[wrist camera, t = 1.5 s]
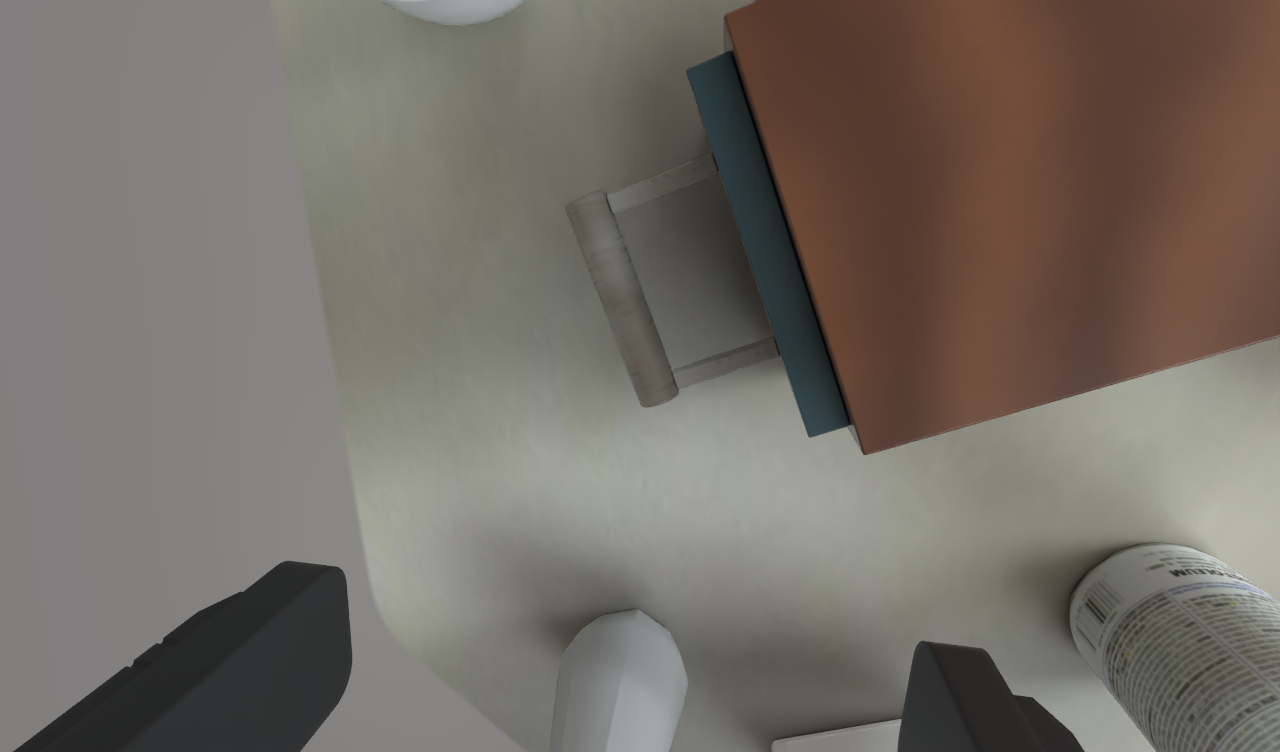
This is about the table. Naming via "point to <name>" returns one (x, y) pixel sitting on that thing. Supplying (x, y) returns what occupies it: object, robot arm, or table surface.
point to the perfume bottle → (845, 739)
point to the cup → (454, 10)
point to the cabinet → (1018, 192)
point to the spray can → (1183, 648)
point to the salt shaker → (619, 687)
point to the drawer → (763, 244)
